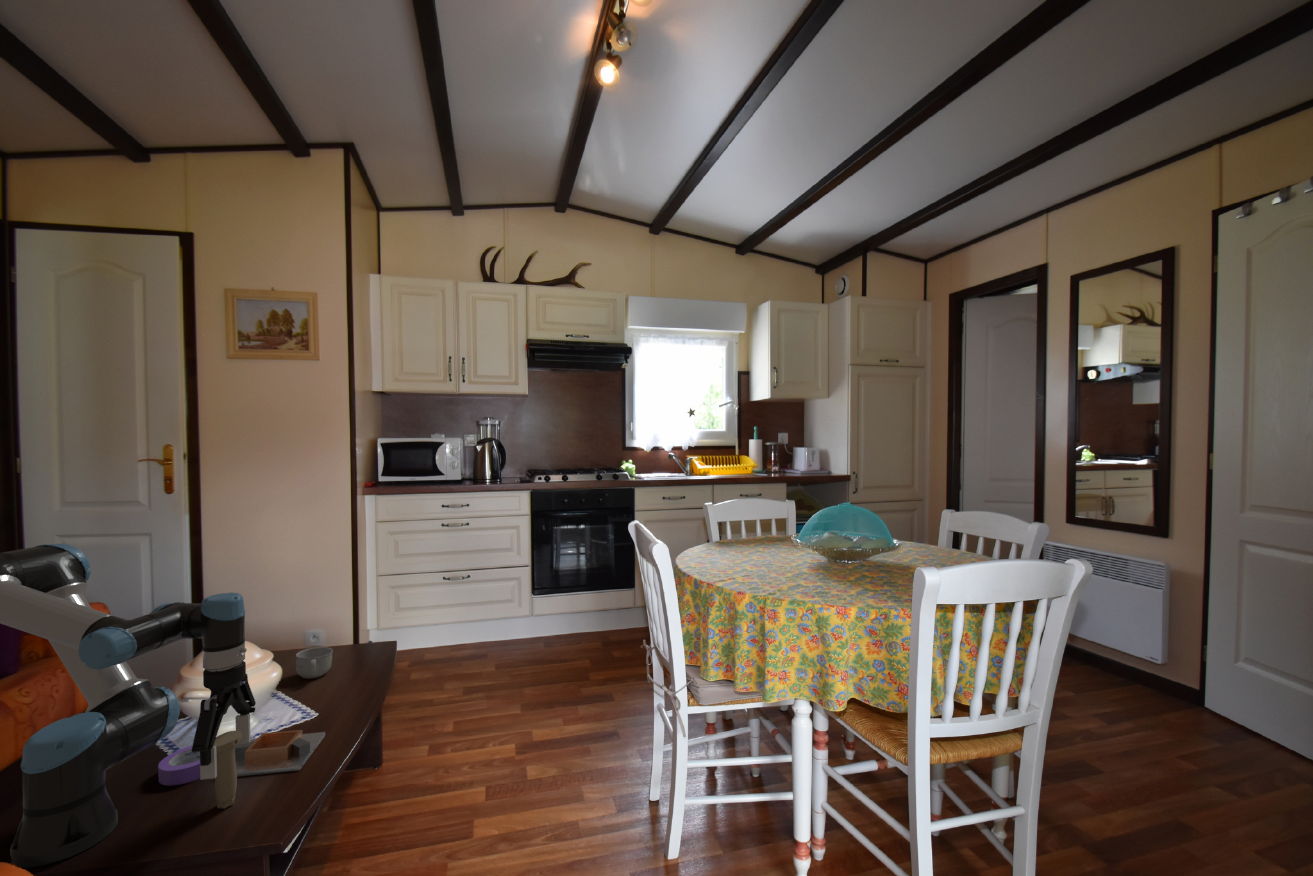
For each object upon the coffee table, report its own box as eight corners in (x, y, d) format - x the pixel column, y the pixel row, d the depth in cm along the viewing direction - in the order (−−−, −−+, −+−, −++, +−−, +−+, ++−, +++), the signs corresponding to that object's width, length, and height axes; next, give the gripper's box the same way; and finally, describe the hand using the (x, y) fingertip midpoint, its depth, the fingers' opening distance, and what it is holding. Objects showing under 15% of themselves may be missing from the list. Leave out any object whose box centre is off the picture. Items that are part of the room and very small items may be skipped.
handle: (203, 814, 122) (202, 746, 122) (226, 795, 129) (226, 730, 129) (225, 814, 122) (224, 746, 122) (247, 795, 129) (246, 730, 128)
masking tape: (144, 786, 132) (144, 770, 132) (186, 757, 144) (186, 742, 144) (193, 786, 132) (193, 770, 132) (231, 757, 144) (231, 742, 144)
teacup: (301, 670, 196) (301, 647, 196) (336, 666, 199) (336, 644, 199) (288, 688, 183) (288, 663, 182) (326, 683, 186) (325, 659, 186)
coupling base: (217, 778, 135) (216, 762, 135) (251, 742, 151) (251, 727, 151) (299, 770, 138) (299, 754, 138) (325, 735, 154) (325, 721, 154)
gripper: (210, 688, 113) (212, 792, 114) (270, 642, 138) (272, 728, 138) (167, 692, 112) (170, 797, 112) (236, 645, 137) (238, 732, 137)
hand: (227, 759), depth 125 cm, fingers open, 13 cm apart
